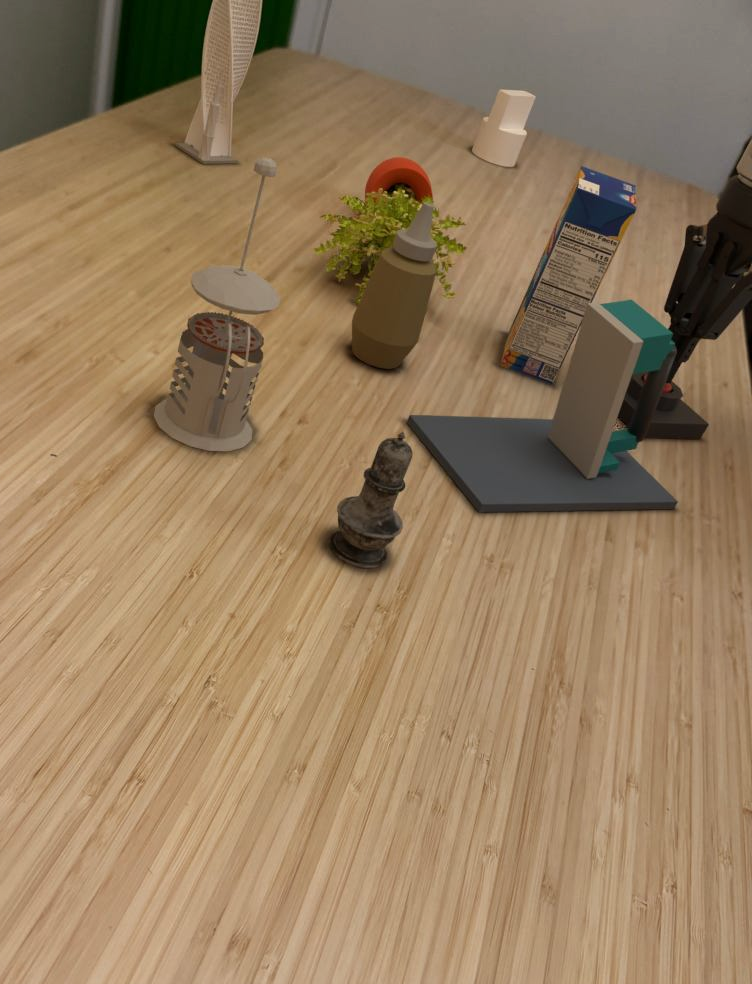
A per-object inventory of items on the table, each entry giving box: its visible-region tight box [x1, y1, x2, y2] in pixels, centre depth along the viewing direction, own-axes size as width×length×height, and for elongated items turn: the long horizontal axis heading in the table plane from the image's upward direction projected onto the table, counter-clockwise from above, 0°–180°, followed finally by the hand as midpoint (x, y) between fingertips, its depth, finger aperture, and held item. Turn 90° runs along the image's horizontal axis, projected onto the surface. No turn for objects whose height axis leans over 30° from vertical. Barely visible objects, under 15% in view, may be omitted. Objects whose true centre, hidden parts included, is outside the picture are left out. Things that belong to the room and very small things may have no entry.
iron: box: [548, 299, 677, 479], centre depth 108 cm, size 16×8×10 cm
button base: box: [617, 372, 710, 440], centre depth 129 cm, size 12×10×4 cm
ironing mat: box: [406, 414, 679, 513], centre depth 112 cm, size 16×26×1 cm, turn 112°
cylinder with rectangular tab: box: [471, 89, 537, 168], centre depth 202 cm, size 9×9×12 cm
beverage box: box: [500, 165, 637, 386], centre depth 126 cm, size 7×11×22 cm, turn 164°
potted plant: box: [312, 156, 468, 305], centre depth 143 cm, size 19×14×45 cm
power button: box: [642, 375, 672, 393], centre depth 128 cm, size 4×4×2 cm
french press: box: [153, 156, 281, 452], centre depth 92 cm, size 10×12×25 cm
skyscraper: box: [174, 0, 263, 165], centre depth 153 cm, size 8×8×28 cm
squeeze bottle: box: [351, 202, 438, 370], centre depth 116 cm, size 8×8×18 cm
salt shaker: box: [328, 431, 414, 569], centre depth 87 cm, size 6×6×12 cm
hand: (658, 379), depth 127 cm, fingers closed
